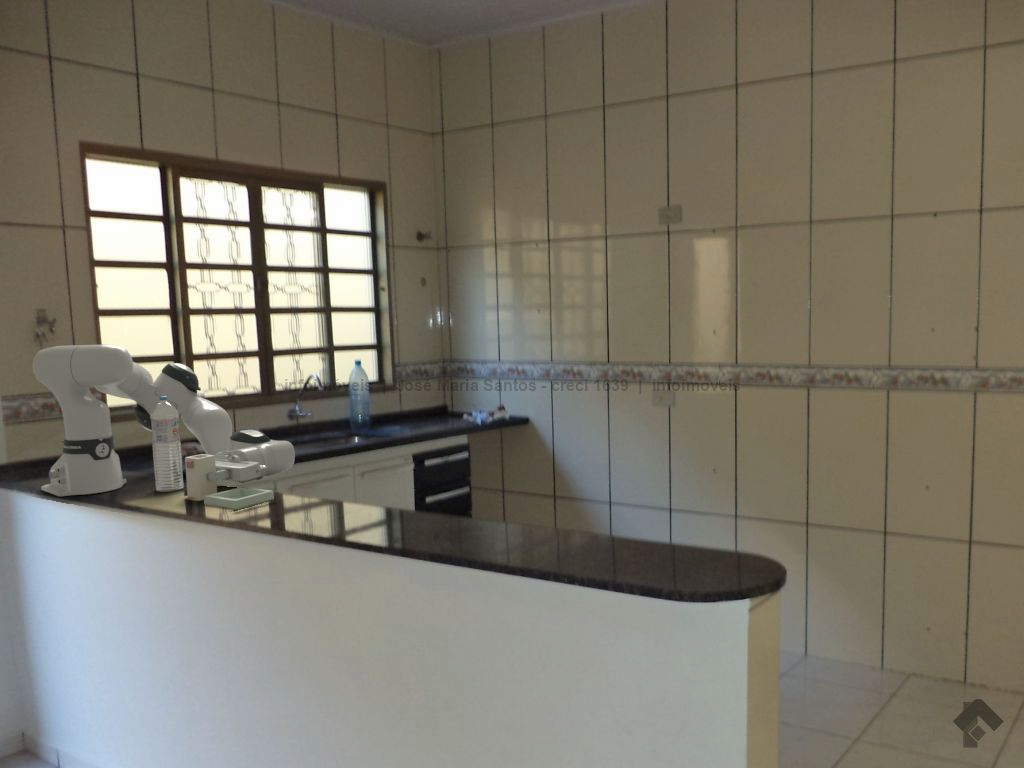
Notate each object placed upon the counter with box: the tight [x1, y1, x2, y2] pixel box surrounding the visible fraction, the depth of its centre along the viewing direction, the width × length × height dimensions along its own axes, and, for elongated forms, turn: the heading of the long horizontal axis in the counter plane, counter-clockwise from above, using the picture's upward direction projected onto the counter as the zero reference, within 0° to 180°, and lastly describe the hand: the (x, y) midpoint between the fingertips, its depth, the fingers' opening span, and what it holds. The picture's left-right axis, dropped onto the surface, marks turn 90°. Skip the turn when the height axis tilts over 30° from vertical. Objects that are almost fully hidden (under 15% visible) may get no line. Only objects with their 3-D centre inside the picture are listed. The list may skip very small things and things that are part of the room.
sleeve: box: [184, 453, 218, 499], centre depth 209 cm, size 5×6×10 cm
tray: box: [203, 486, 275, 512], centre depth 202 cm, size 11×11×2 cm
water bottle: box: [150, 396, 185, 493], centre depth 219 cm, size 7×7×25 cm
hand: (199, 476), depth 209 cm, fingers closed on sleeve, 5 cm apart
